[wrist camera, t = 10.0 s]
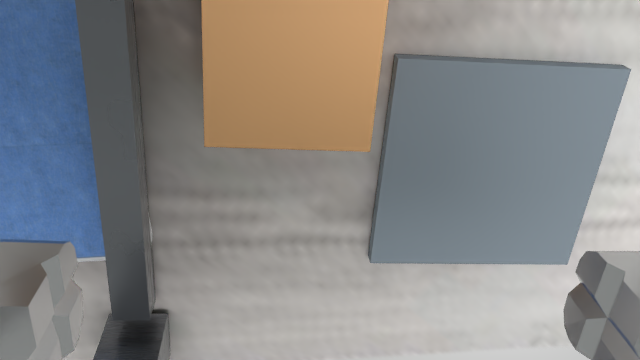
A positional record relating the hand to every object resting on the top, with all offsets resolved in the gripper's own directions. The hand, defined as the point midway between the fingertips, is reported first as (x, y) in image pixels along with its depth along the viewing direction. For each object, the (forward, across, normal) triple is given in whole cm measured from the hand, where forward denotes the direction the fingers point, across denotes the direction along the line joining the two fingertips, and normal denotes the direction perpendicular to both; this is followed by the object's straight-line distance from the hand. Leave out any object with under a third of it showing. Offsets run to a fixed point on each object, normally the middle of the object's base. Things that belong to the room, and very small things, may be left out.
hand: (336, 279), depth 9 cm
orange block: (+13, 0, -1) cm, 13 cm away
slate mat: (+13, -8, +4) cm, 16 cm away
